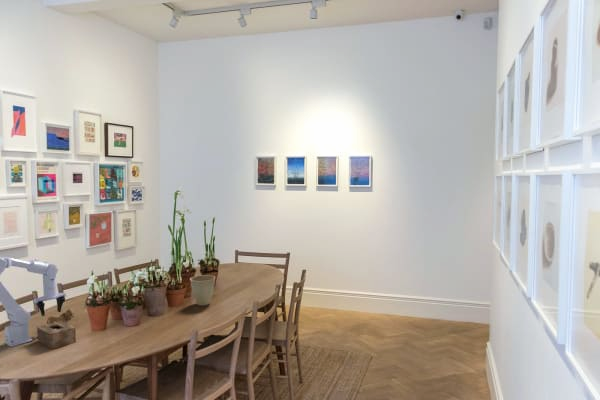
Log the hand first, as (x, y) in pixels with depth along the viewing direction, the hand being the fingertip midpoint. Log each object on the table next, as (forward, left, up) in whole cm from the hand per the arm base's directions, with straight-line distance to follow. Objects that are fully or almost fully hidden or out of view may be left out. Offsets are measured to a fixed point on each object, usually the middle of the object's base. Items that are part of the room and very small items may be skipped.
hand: (51, 313), depth 224 cm
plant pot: (+77, -24, -10) cm, 81 cm away
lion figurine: (+6, +4, -10) cm, 12 cm away
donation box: (-4, -16, -9) cm, 19 cm away
